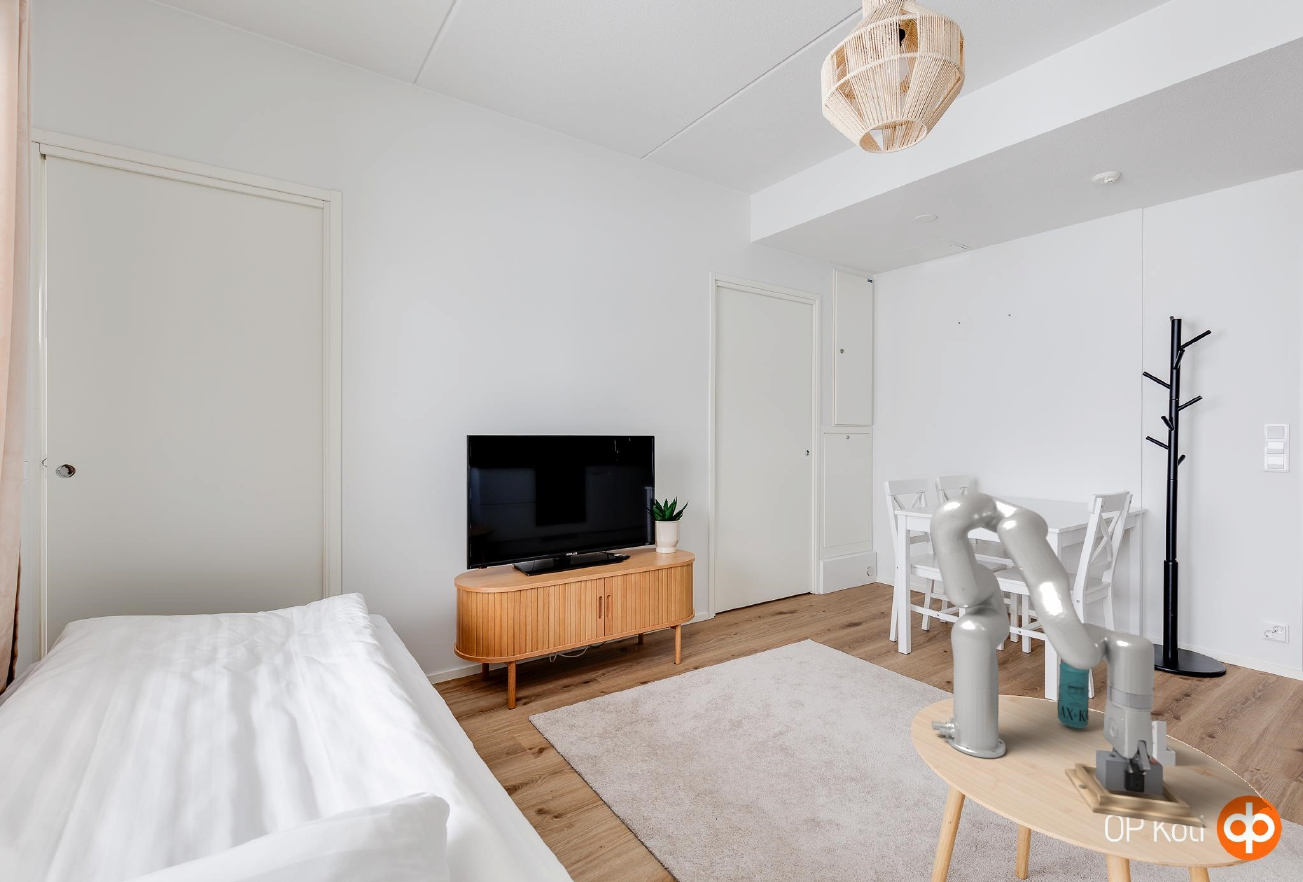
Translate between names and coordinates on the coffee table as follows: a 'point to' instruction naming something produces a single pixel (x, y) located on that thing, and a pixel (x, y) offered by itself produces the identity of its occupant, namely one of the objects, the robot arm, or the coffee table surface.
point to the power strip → (1113, 772)
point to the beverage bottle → (1073, 696)
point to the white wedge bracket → (1161, 744)
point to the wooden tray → (1130, 800)
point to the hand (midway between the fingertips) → (1128, 783)
